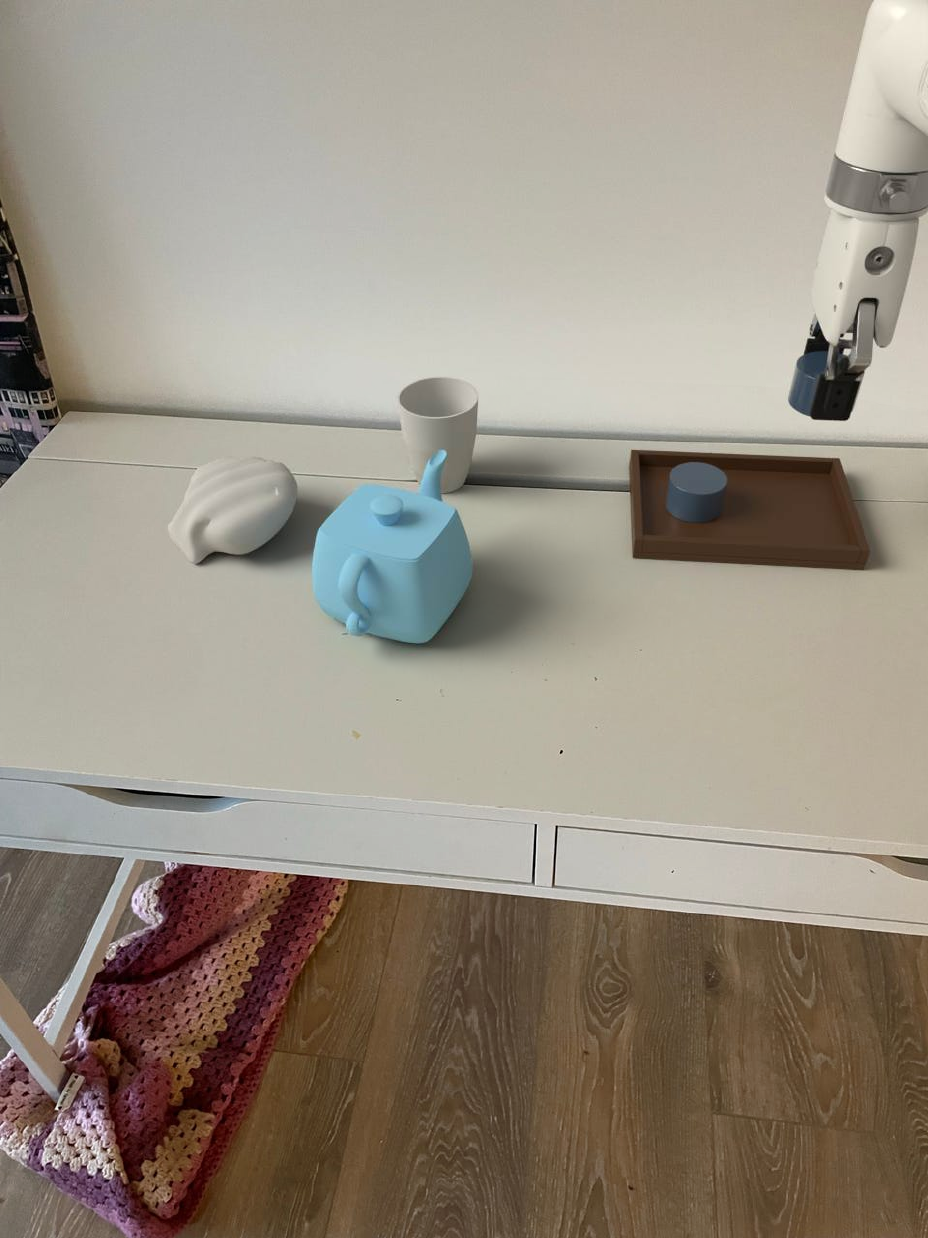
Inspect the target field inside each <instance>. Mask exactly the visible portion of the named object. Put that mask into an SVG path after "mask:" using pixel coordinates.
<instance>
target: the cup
mask: <svg viewBox="0 0 928 1238" xmlns="http://www.w3.org/2000/svg"><path fill="white" fill-rule="evenodd" d="M396 400H397V407H398V413H399V421H400V428H401V434H402V440H403V443H404V447H405V450H406V455H407V457H408V461H409V464H410V467H411V470H412V472H413V474H414V477H415V478H416V481H417V483H418V485H419V486H420V485H421V481H422V478H423V475H424V472H425V469H426V466H427V464H428V461H429V460H430V458H431V457H432V456H433V455H434V454H435V453H436V452H437V451H439V450H445V451H446V454H447V455H446V459H445V462H444V465H443V468H442V472H441V482H440V484H441V494H449V493H452V492H455V491H457V490H459V489H461V487H463V485H465V481H466V479H467V476H468V474H469V470H470V468H471V464H472V461H473V455H474V449H475V443H476V438H477V429H478V411H479V393H478V391H477V389H476V388H475V386H474V385H472V384H470V383H468V382H467V381H465V380H463V379H459V378H455V377H449V376H432V377H431V376H430V377H425V378H421V379H418V380H414V381H412V382H410V383H408V384H406V385H405V386H404V387H402V389H401V390H400V391H398V394H397V397H396Z"/></svg>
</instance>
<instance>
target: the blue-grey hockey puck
mask: <svg viewBox="0 0 928 1238" xmlns="http://www.w3.org/2000/svg"><path fill="white" fill-rule="evenodd" d="M828 352H829V351H817V352H810V353H807V354H804V353H803V354H802V355H801V356H799V357H798V358H797V359H796V363H795V367H794V371H793V375H792V379H791V383H790V386H789V391H788V395H787V403H788V404H789V406H790V408H792V409H793V410H795V411H796V412H798V413H799V414H801V415H804V416H806V417H810V418H811V416H810V411H811V407H812V403H813V399H814V396H815V392H816V388H817V384H818V380H819V377H820V374H825V370H826V364H827V358H828ZM843 357H848V355H847V354H844V353H843V354H841V353H839V355H838V361H837V363H838V362H839V361H840V360H841V359H842V358H843ZM865 373H866V370H864V374H863V378H862V380H861V382H860V385H859V388H858V391H857V395H856V398H855V401H854V405H853V408H852V411H851V413H853V412H854V410H855V406H856V403H857V400H858V396H859V393H860V390H861V386H862V382H863V380H864V376H865Z"/></svg>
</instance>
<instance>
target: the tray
mask: <svg viewBox="0 0 928 1238" xmlns="http://www.w3.org/2000/svg"><path fill="white" fill-rule="evenodd" d="M688 462H700V463H706V464H710V465H713V466H715V467H717V468H719V469H720V470H721V471H723V472H724V474H725V475H726V477H727V487H726V491H725V496H724V501H723V506H722V511H721V513H720V515H719V516H718V517H717V518H715V519H714V520H711V521H708V522H704V523H691V522H686V521H683V520H680V519H678V518H676V517H674V516H673V515H671V514H670V513H669V512H668V510H667V508H666V505H665V502H666V496H667V489H668V483H669V476H670V472H671V471H672V469H673V468H675V467H676V466H678V465H680V464H683V463H688ZM628 475H629V477H628V478H629V500H630V501H629V503H630V526H631V528H630V529H631V554H632V555H631V556H632V558H633V559H649V560H666V561H667V560H668V561H686V562H705V563H722V564H723V563H725V564H741V565H742V564H743V565H765V566H781V567H782V566H784V567H799V568H801V567H803V568H821V569H841V570H860V571H863V570H865V567H866V565H867V563H868V560H869V557H870V554H871V549H870V546H869V543H868V539H867V536H866V533H865V531H864V528H863V524H862V522H861V519H860V516H859V512H858V509H857V507H856V503H855V500H854V498H853V495H852V491H851V489H850V485H849V483H848V479H847V476H846V473H845V471H844V467H843V465H842V461H841V458H839V457H821V456H820V457H818V456H796V455H795V456H794V455H770V454H748V453H747V454H746V453H725V452H723V453H720V452H696V451H676V450H675V451H673V450H652V449H649V450H648V449H631V450H630V457H629V464H628Z"/></svg>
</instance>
